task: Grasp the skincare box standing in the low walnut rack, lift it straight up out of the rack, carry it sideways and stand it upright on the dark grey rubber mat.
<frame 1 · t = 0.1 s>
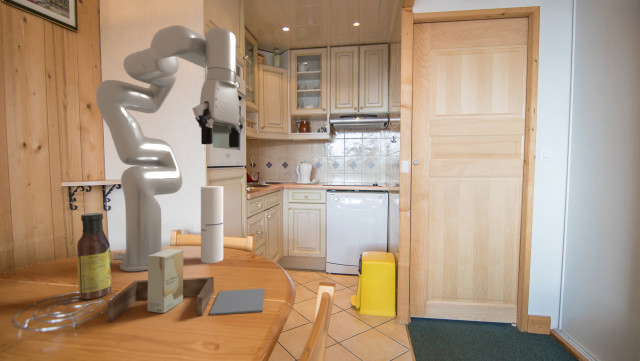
hand: (221, 145, 73), 37 cm above the table, tool pointing down, fingers open, 9 cm apart
cylindrical container: (212, 260, 94), on the table
grey rubber mat: (239, 301, 65), on the table
sauce bottle: (95, 295, 67), on the table
walnut rack: (166, 305, 62), on the table
skincare box: (166, 306, 62), on the table
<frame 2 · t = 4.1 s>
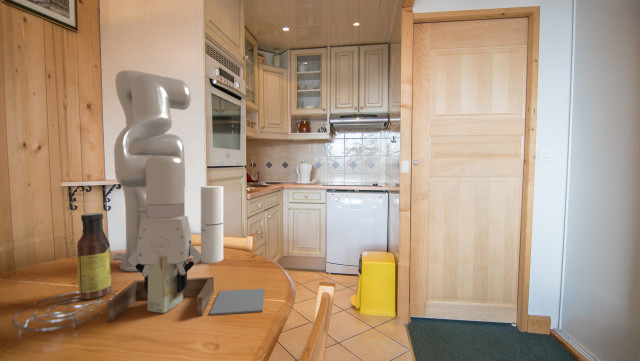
hand: (166, 290, 62), 4 cm above the table, tool pointing down, fingers closed on skincare box, 5 cm apart
skincare box: (166, 306, 62), on the table, touching gripper
everything else where it was.
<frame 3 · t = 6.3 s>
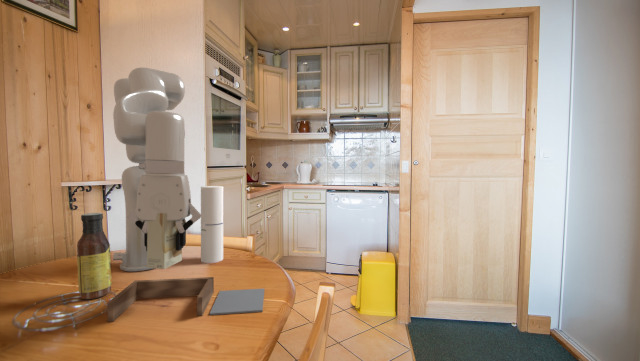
hand: (165, 248, 62), 13 cm above the table, tool pointing down, fingers closed on skincare box, 5 cm apart
skincare box: (165, 264, 62), point 9 cm above the table, touching gripper
everything else where it was.
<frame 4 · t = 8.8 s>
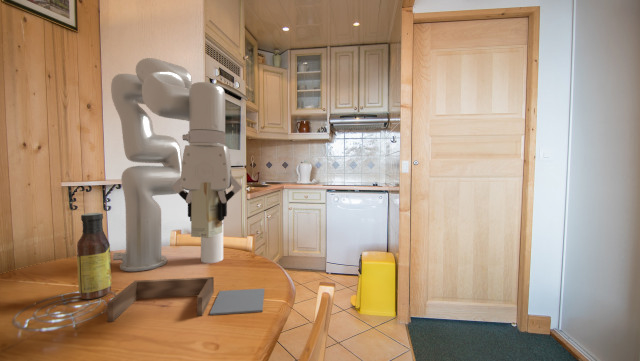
hand: (207, 219, 63), 20 cm above the table, tool pointing down, fingers closed on skincare box, 5 cm apart
skincare box: (207, 235, 63), point 16 cm above the table, touching gripper
everything else where it was.
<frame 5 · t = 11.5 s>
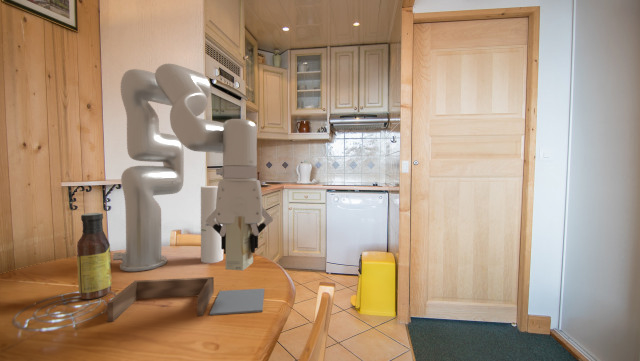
hand: (240, 250, 64), 12 cm above the table, tool pointing down, fingers closed on skincare box, 5 cm apart
skincare box: (240, 266, 64), point 8 cm above the table, touching gripper
everything else where it was.
when the fingers open (4 cm above the table, at t = 13.6 s): skincare box stays where it is, resting on grey rubber mat.
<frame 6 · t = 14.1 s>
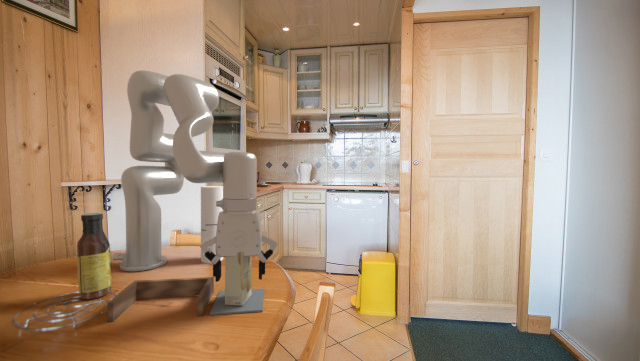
hand: (239, 278, 65), 5 cm above the table, tool pointing down, fingers open, 9 cm apart
skincare box: (238, 300, 65), resting on grey rubber mat
everything else where it was.
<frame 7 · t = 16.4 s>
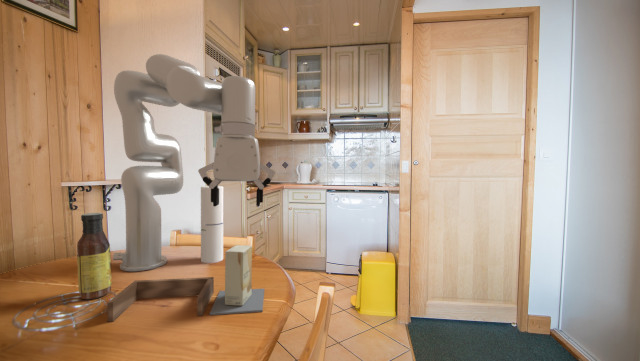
hand: (237, 205, 65), 22 cm above the table, tool pointing down, fingers open, 9 cm apart
nothing on the table moved.
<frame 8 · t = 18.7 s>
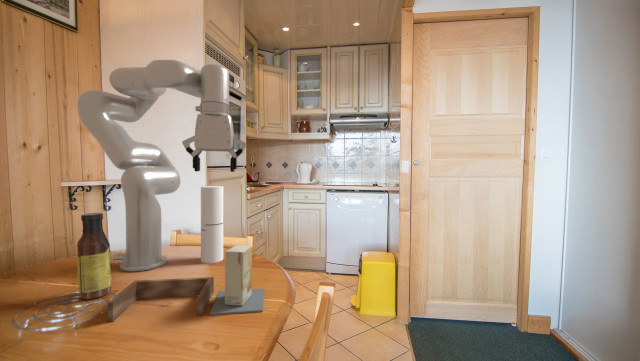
hand: (215, 171, 79), 30 cm above the table, tool pointing down, fingers open, 9 cm apart
nothing on the table moved.
at the end: skincare box inside the target area on the grey rubber mat (0.2 cm from its centre), point 0.2 cm above the grey rubber mat's base; skincare box tilted 0°; the gripper is holding nothing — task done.
